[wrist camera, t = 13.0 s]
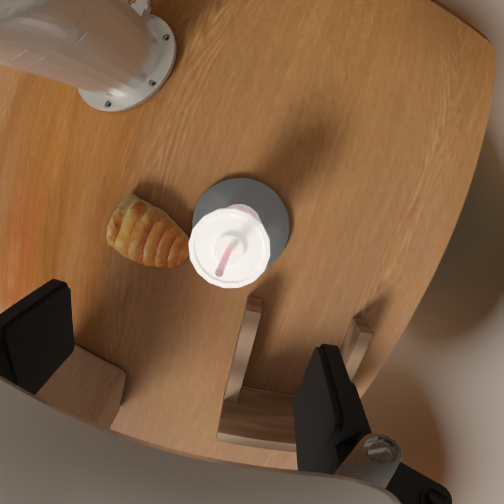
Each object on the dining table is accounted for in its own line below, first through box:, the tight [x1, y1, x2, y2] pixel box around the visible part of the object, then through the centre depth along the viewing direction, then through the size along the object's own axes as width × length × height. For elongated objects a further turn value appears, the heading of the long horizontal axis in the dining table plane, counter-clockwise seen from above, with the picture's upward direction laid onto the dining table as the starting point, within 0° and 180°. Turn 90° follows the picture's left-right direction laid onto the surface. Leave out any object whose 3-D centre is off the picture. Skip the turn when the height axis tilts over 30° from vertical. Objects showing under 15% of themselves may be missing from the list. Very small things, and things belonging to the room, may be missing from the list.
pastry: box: [106, 194, 190, 269], centre depth 31 cm, size 9×7×4 cm
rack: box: [216, 296, 373, 452], centre depth 32 cm, size 15×14×9 cm
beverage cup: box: [188, 204, 270, 288], centre depth 24 cm, size 6×6×14 cm
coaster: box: [192, 178, 290, 267], centre depth 31 cm, size 10×10×1 cm
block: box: [35, 344, 126, 428], centre depth 29 cm, size 10×10×20 cm
